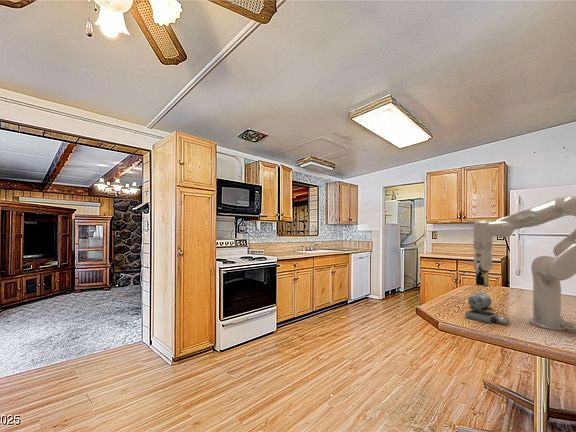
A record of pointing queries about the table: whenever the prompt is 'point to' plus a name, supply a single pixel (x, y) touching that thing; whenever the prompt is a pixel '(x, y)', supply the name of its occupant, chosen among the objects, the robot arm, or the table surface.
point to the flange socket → (486, 316)
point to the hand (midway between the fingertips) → (482, 283)
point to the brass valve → (485, 279)
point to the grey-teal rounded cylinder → (479, 300)
